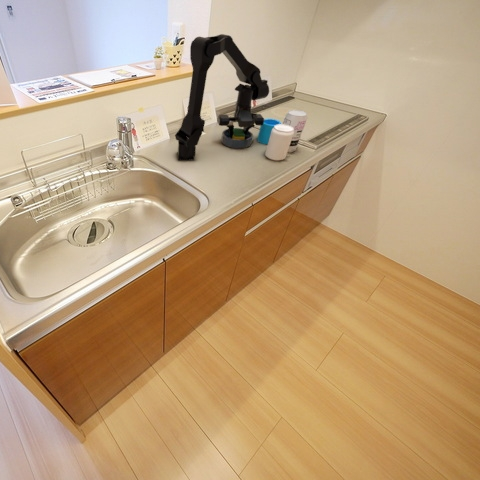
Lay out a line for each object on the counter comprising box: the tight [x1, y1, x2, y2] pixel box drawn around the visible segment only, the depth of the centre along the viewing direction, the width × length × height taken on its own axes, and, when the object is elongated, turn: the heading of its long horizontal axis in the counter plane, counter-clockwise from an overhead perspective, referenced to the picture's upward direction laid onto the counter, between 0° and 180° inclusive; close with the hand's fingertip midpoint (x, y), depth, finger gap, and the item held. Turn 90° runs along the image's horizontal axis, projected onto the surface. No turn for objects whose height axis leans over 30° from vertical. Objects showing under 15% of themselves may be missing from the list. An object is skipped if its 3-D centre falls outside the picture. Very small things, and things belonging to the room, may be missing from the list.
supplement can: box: [282, 109, 308, 154], centre depth 113 cm, size 8×8×15 cm
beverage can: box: [264, 123, 294, 161], centre depth 109 cm, size 8×8×12 cm
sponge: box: [232, 128, 245, 140], centre depth 121 cm, size 7×4×4 cm, turn 2°
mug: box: [256, 118, 282, 145], centre depth 122 cm, size 12×8×8 cm
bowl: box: [220, 127, 254, 150], centre depth 121 cm, size 13×13×4 cm
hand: (236, 139), depth 122 cm, fingers closed on sponge, 4 cm apart
